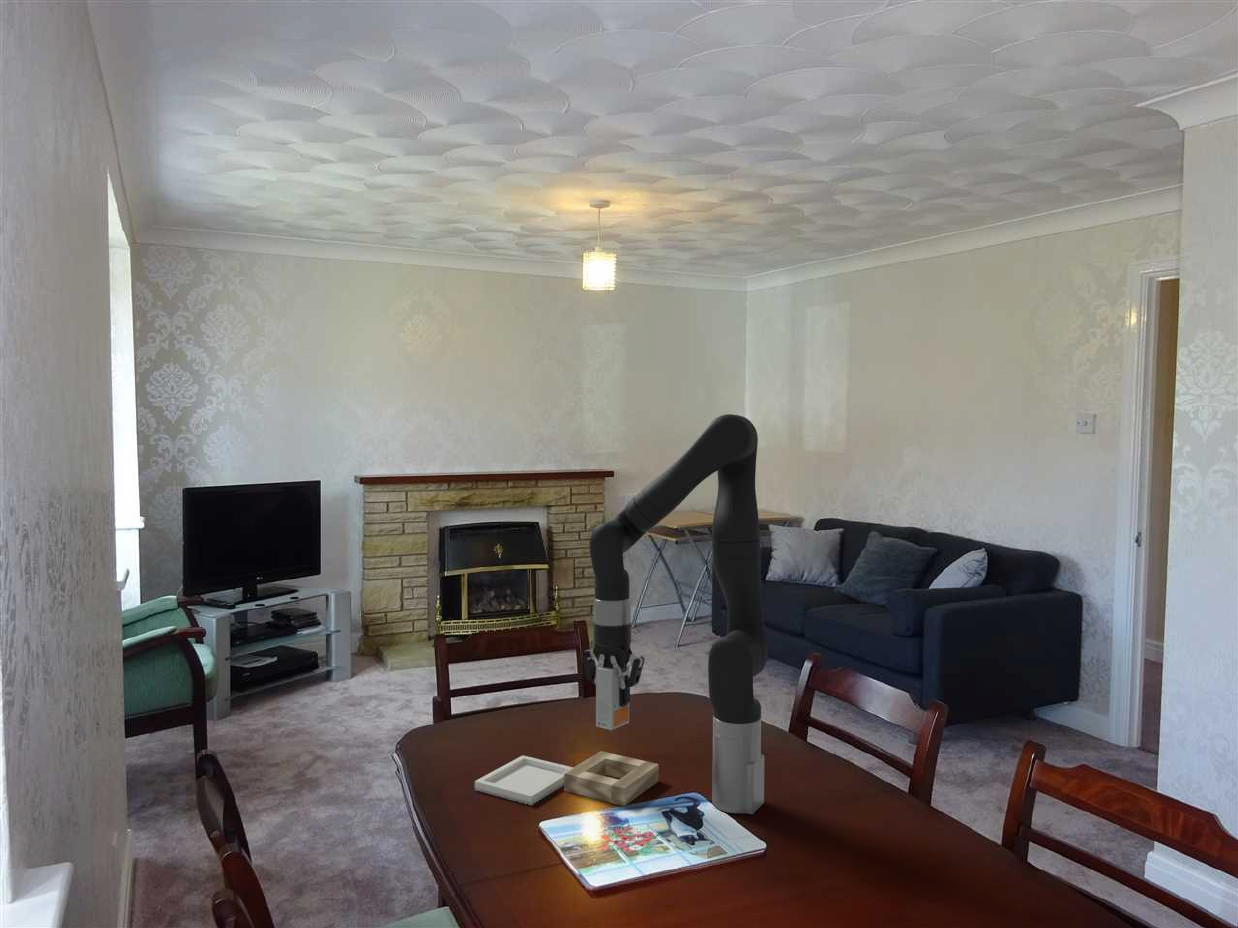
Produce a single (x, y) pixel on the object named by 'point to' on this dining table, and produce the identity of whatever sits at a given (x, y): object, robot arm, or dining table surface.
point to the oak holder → (596, 785)
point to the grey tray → (523, 780)
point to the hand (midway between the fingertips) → (612, 703)
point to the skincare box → (609, 700)
